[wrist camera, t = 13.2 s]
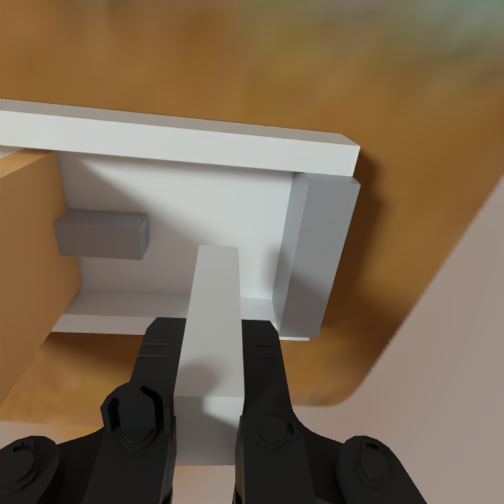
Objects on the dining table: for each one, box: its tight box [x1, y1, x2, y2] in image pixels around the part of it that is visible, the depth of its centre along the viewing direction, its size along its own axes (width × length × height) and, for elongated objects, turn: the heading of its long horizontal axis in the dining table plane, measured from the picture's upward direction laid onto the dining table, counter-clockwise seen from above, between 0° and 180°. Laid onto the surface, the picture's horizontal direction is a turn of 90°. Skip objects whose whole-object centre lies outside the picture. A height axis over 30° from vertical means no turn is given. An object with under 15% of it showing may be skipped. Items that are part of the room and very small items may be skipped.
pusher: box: [0, 148, 149, 406], centre depth 12 cm, size 7×5×8 cm
